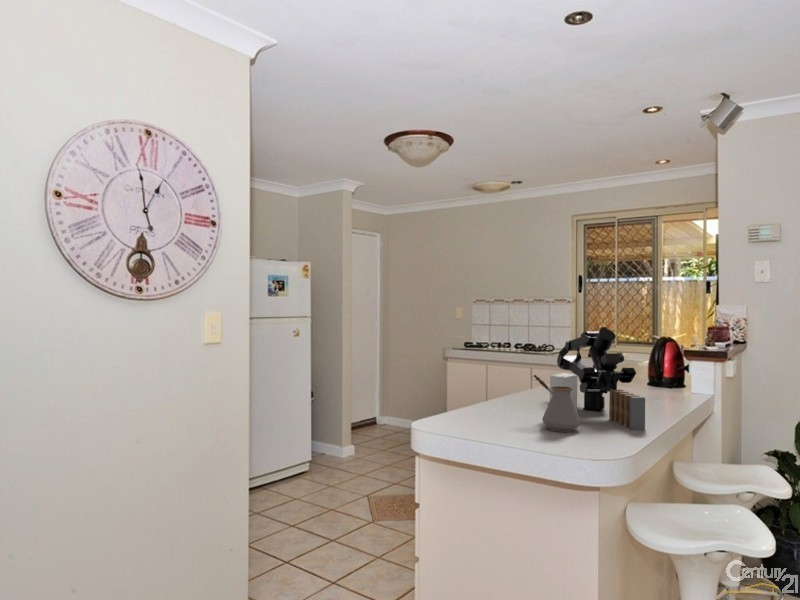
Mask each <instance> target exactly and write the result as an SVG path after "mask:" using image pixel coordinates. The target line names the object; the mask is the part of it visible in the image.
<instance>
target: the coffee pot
mask: <svg viewBox="0 0 800 600" xmlns="http://www.w3.org/2000/svg"><path fill="white" fill-rule="evenodd" d="M533 377H534V378H535V379H534V381H536V382H537V381H538V383H539V385H541V386H542V387H543V388H545V390H547V391H548V393H549V394H550V393H551V394H552V395H553V396H552V398H551V400H550V399H549V402H548V404H547V407H546V409H545V411H544V414H543V416H542V419H541V420H542V421H543V422H542V423H543V424H544V425H545V427H548V429H549V430H550V431H553V432H554V431H555V432H559V433H560V432H561V433H568V432H569V433H571V432H574V431H575V430H576V429H577V428H578V427H579V426H580V425H581V423H582V421H581V417H580V416H579V413H578V409H577V410H576V408H575V406H574V403H573V401H572V398H571V396H570V393H571V390H572V388H571V387H561V386H555V387H551V389H552V390H551V389H550V386H548V385H547V384H546V383H545V381H544V380H542V379H540V377H539V376H537V374H534V375H532V376H531V380H533Z"/></svg>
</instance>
